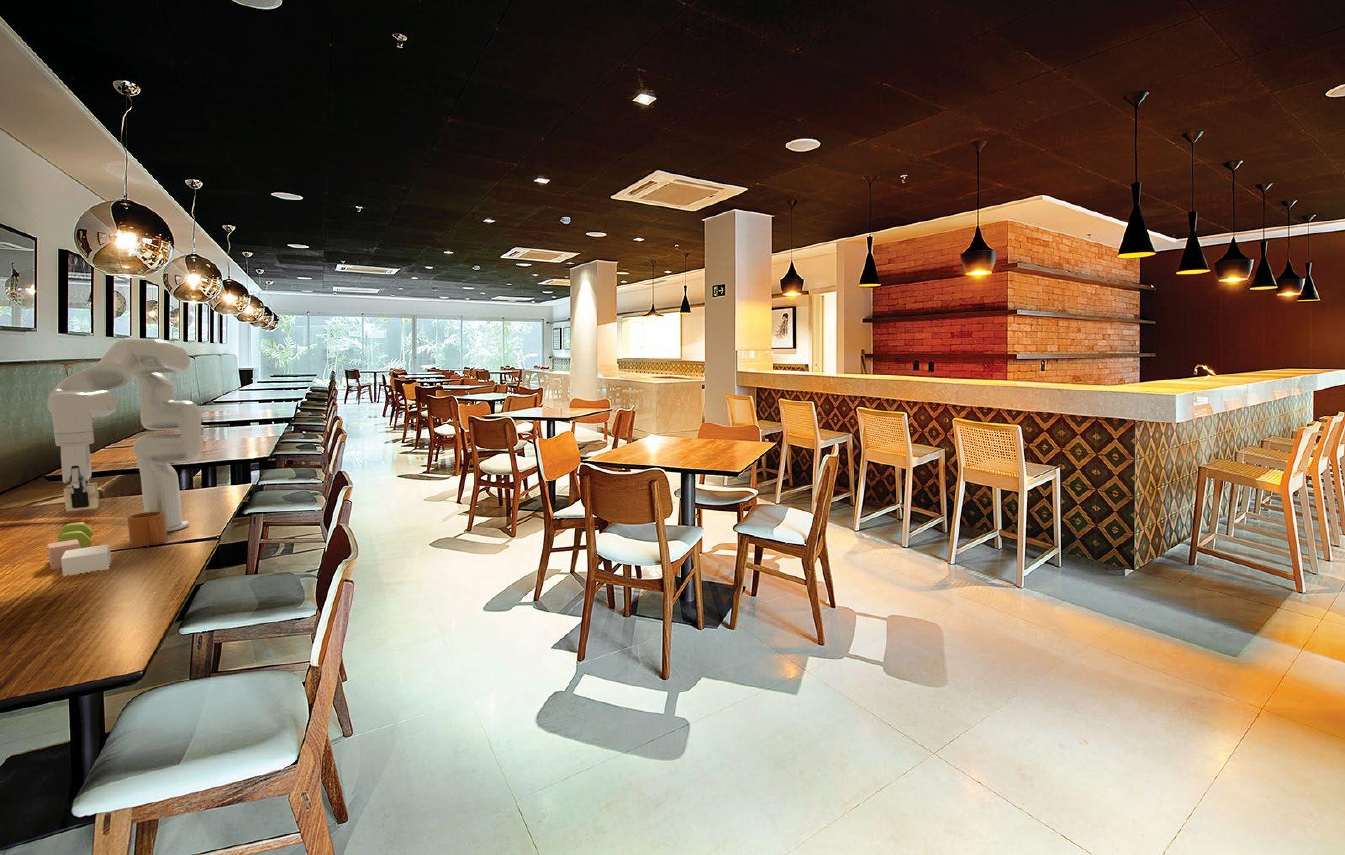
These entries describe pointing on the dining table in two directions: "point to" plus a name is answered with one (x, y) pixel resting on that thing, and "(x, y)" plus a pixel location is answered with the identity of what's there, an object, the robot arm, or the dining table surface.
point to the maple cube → (92, 497)
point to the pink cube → (60, 551)
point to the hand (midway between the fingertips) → (82, 504)
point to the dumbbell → (76, 534)
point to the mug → (147, 529)
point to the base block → (86, 560)
